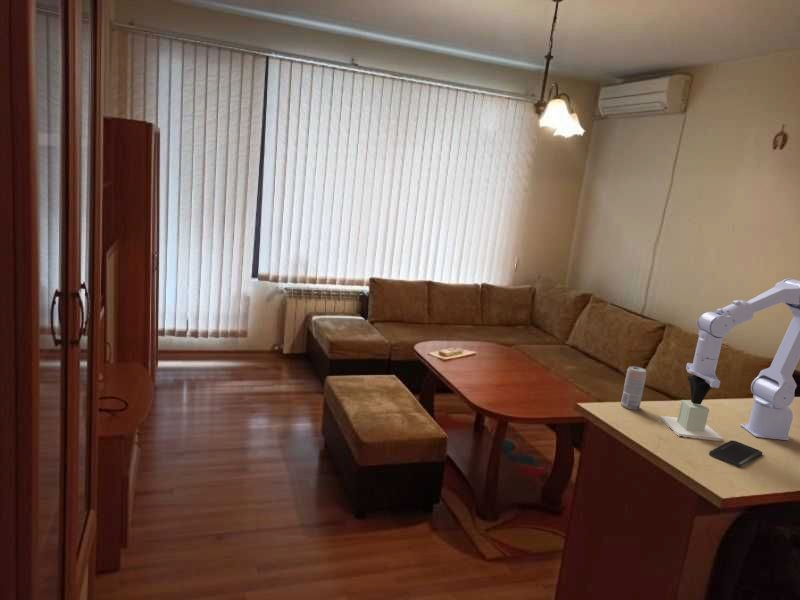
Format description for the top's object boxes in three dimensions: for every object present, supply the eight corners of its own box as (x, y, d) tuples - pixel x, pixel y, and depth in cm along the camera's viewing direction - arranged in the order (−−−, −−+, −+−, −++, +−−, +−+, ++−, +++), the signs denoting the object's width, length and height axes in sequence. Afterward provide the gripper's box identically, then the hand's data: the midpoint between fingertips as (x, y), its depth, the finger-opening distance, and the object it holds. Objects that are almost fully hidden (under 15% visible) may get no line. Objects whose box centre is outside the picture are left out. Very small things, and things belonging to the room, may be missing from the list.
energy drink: (636, 404, 176) (643, 367, 174) (641, 411, 171) (649, 373, 169) (618, 402, 177) (625, 364, 174) (623, 408, 172) (630, 370, 169)
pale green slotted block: (694, 423, 164) (699, 401, 162) (704, 431, 159) (709, 409, 157) (676, 421, 164) (681, 399, 162) (685, 429, 159) (690, 407, 157)
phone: (763, 452, 150) (740, 465, 140) (762, 456, 150) (739, 469, 141) (731, 439, 156) (707, 451, 146) (730, 443, 156) (706, 455, 146)
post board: (700, 422, 167) (704, 405, 166) (722, 441, 156) (726, 422, 155) (659, 418, 167) (663, 401, 166) (678, 436, 156) (682, 418, 154)
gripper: (679, 346, 164) (670, 391, 167) (705, 363, 150) (694, 412, 153) (704, 349, 164) (694, 394, 167) (732, 366, 150) (720, 414, 153)
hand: (695, 403), depth 160 cm, fingers closed
